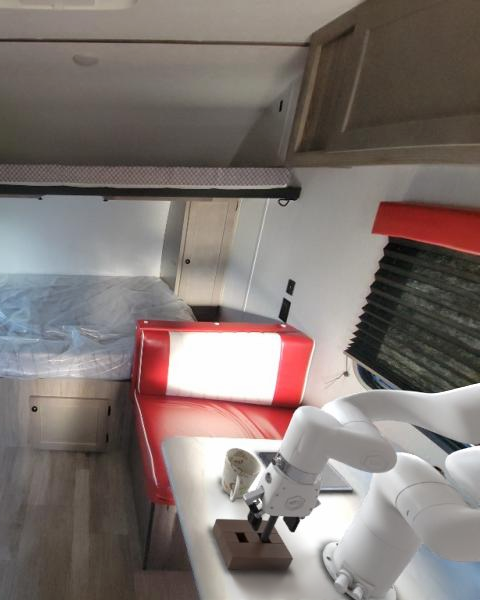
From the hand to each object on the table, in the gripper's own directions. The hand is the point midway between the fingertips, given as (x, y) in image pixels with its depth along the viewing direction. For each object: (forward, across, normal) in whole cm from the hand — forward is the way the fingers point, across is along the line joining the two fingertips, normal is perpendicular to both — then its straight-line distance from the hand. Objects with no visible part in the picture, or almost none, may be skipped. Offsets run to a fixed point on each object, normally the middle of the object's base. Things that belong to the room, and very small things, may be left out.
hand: (270, 524), depth 72 cm
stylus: (+8, 0, 0) cm, 8 cm away
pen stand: (+8, -3, 0) cm, 9 cm away
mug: (+8, 0, +14) cm, 16 cm away
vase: (+8, +59, +17) cm, 62 cm away
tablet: (+8, +26, +22) cm, 35 cm away
